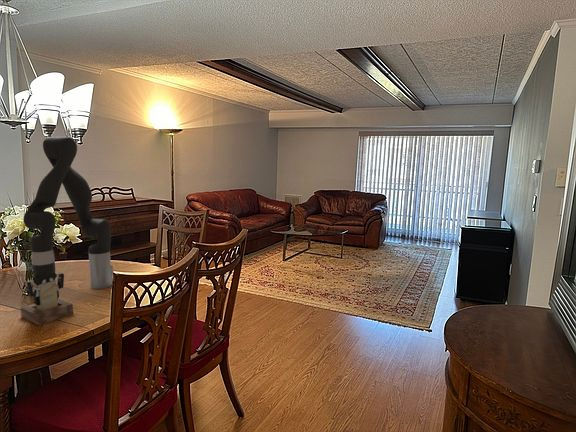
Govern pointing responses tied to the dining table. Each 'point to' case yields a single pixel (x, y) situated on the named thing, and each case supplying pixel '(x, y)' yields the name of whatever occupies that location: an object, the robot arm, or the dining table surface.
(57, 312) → the grey flat hollow block
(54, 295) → the skincare box
